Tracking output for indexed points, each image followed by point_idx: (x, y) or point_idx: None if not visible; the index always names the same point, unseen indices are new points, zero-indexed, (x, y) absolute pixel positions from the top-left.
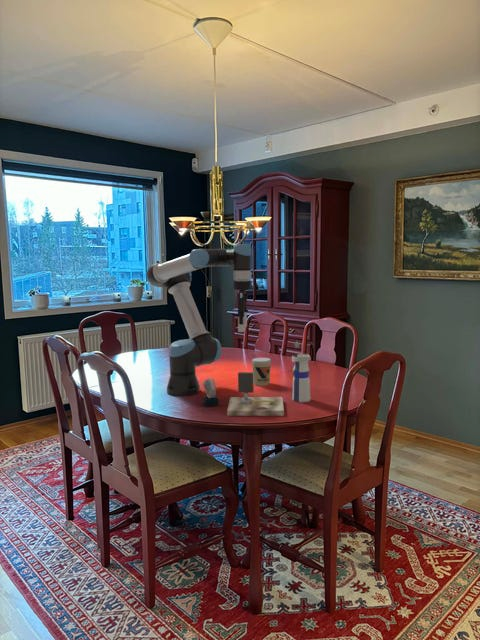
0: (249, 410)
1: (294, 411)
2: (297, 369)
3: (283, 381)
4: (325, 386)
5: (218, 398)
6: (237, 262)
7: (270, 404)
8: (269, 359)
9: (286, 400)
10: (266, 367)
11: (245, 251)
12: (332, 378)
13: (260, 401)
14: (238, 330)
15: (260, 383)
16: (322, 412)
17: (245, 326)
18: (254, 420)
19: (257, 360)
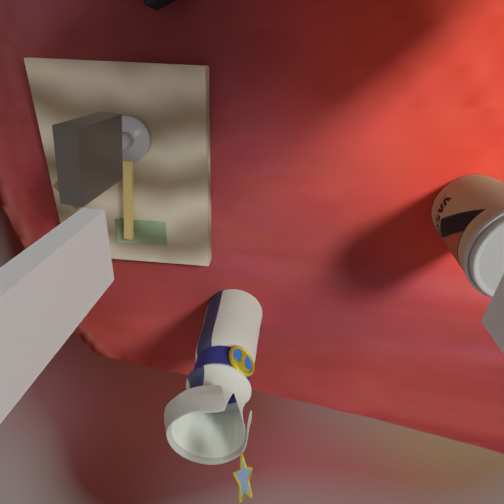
0: (45, 147)
1: (118, 279)
2: (191, 378)
3: (474, 290)
4: (369, 392)
5: (145, 4)
6: None
7: (116, 222)
8: None
9: (225, 271)
10: (459, 262)
11: None
12: (459, 425)
13: (124, 192)
14: (74, 219)
15: (436, 204)
16: (119, 340)
17: (489, 311)
18: (13, 158)
19: None
